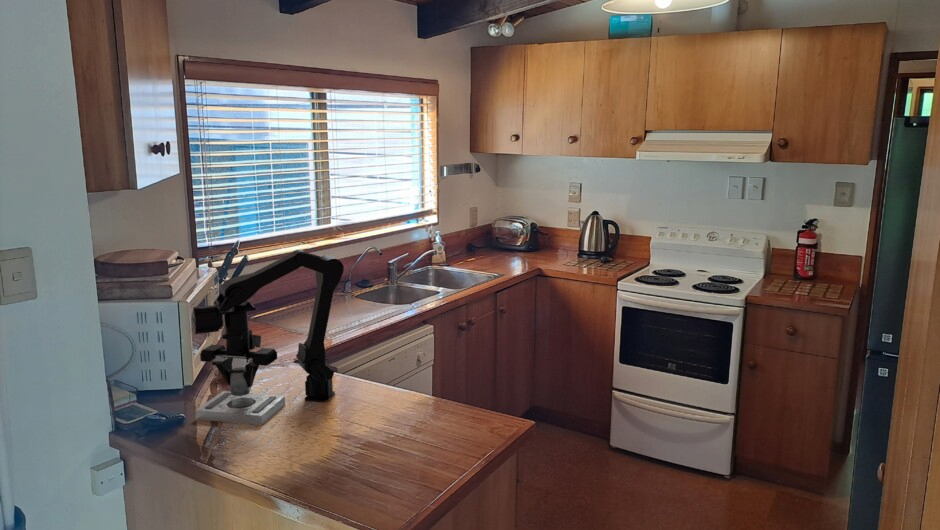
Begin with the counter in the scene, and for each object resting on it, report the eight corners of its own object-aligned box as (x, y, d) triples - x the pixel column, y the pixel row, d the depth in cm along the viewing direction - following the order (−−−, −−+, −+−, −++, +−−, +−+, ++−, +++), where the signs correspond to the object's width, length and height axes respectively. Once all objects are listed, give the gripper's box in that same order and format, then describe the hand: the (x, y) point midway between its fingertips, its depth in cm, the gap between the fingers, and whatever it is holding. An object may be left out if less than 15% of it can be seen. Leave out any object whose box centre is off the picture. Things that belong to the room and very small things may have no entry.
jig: (285, 404, 181) (284, 395, 181) (261, 425, 169) (261, 414, 168) (223, 399, 184) (222, 390, 184) (196, 419, 172) (195, 408, 171)
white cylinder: (223, 379, 200) (221, 356, 198) (224, 371, 206) (223, 349, 205) (247, 376, 202) (246, 354, 200) (248, 369, 208) (247, 347, 207)
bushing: (254, 389, 177) (253, 367, 176) (245, 396, 173) (243, 374, 171) (237, 388, 178) (235, 366, 177) (227, 395, 174) (225, 372, 172)
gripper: (285, 321, 178) (288, 377, 181) (220, 318, 182) (224, 373, 185) (265, 334, 168) (268, 393, 171) (196, 330, 171) (201, 388, 174)
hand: (240, 386), depth 175 cm, fingers closed on bushing, 5 cm apart
